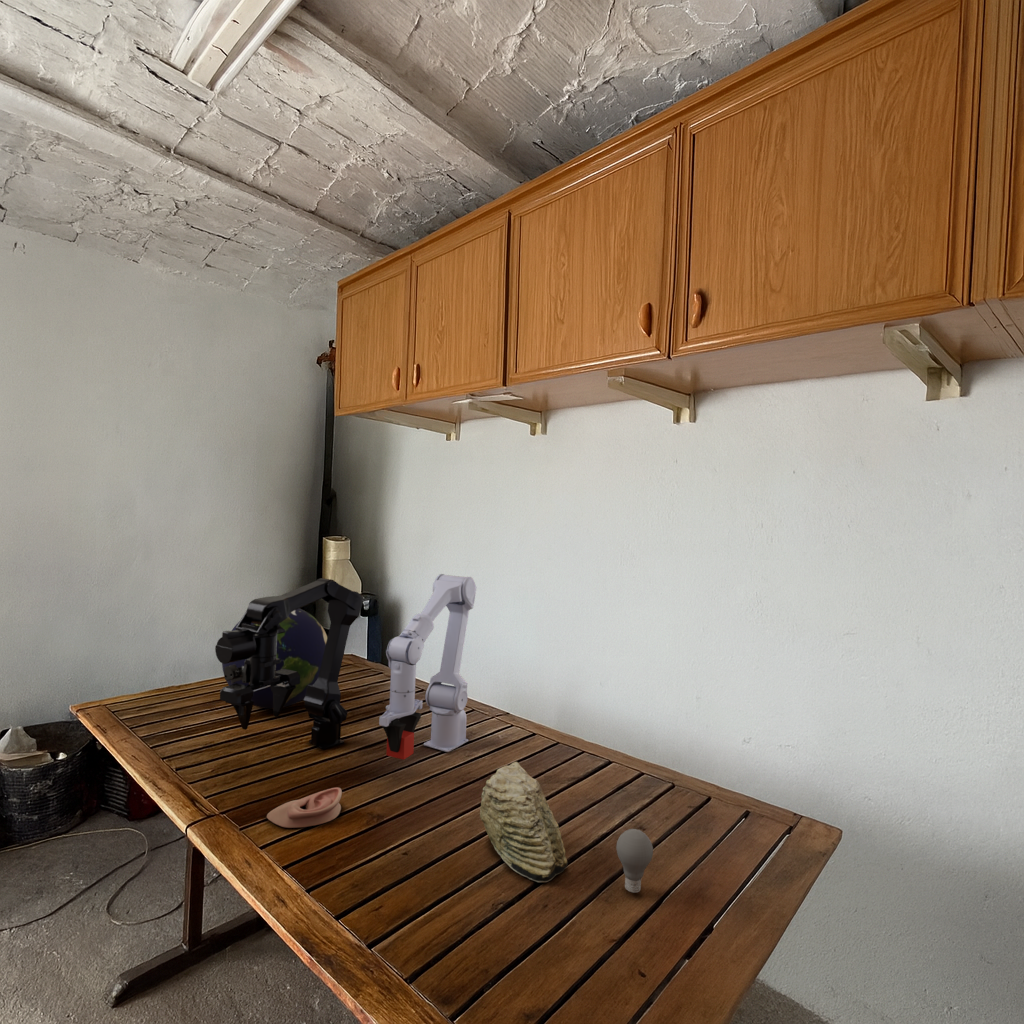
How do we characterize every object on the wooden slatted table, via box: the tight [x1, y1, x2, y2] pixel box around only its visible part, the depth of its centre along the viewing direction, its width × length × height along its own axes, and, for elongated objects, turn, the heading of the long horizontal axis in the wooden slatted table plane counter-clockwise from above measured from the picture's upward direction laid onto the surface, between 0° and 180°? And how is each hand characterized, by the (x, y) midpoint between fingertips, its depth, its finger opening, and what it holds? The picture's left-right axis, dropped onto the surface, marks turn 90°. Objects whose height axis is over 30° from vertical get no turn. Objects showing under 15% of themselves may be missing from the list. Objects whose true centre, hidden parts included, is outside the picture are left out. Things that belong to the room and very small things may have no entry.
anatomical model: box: [266, 786, 343, 829], centre depth 126 cm, size 13×4×12 cm
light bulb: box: [615, 828, 654, 894], centre depth 106 cm, size 6×6×10 cm
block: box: [385, 730, 415, 761], centre depth 146 cm, size 4×5×5 cm
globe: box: [221, 608, 328, 710], centre depth 188 cm, size 30×30×30 cm
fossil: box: [479, 761, 569, 883], centre depth 114 cm, size 9×18×15 cm, turn 46°
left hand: (260, 722), depth 145 cm, fingers open, 9 cm apart
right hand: (400, 747), depth 146 cm, fingers closed on block, 4 cm apart
